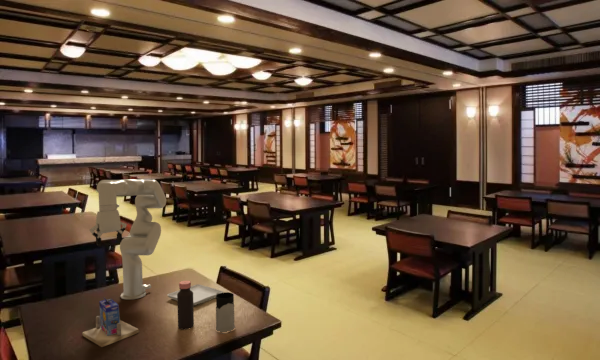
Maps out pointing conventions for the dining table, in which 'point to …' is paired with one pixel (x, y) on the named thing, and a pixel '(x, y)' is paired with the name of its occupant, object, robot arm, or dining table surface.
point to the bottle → (185, 306)
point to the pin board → (103, 340)
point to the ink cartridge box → (109, 316)
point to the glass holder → (224, 312)
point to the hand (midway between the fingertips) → (109, 243)
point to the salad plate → (199, 293)
